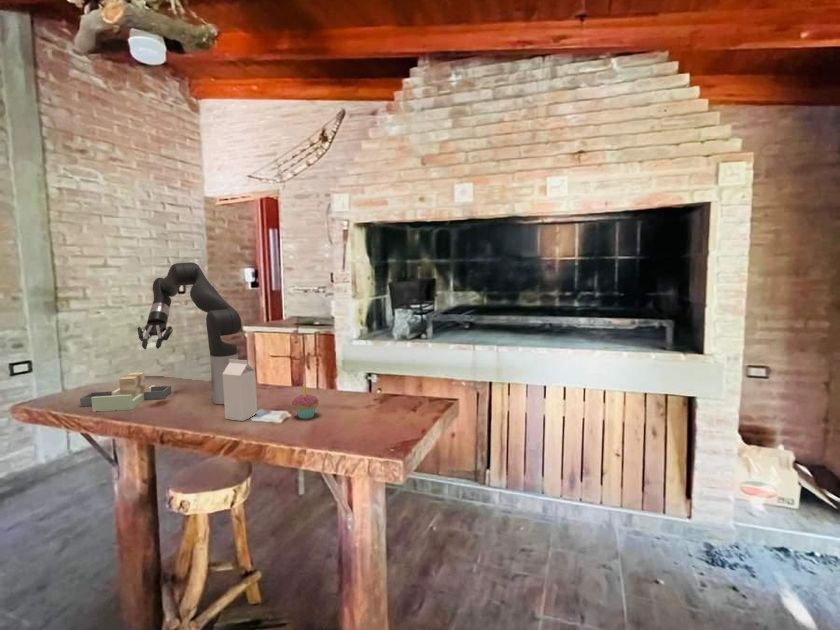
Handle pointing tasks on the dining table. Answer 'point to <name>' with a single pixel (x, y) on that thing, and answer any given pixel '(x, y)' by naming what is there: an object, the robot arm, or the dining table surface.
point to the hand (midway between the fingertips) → (151, 347)
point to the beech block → (132, 384)
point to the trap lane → (122, 399)
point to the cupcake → (305, 405)
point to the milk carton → (239, 390)
